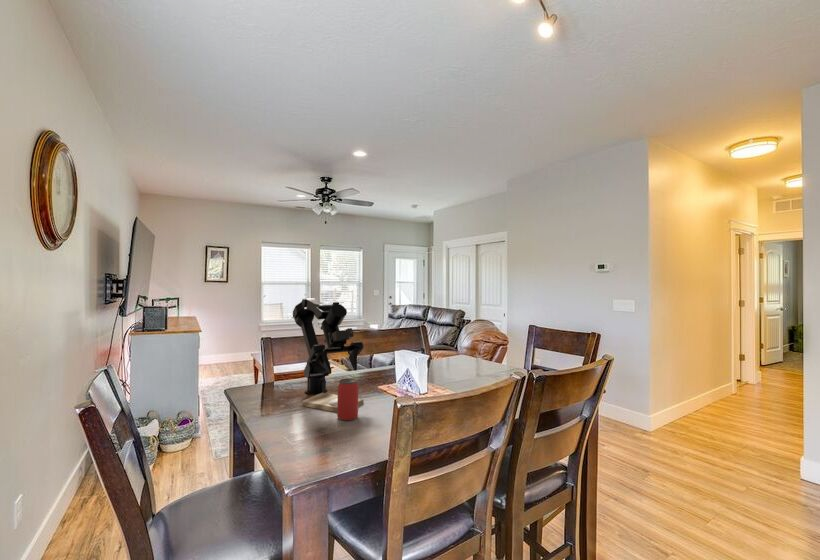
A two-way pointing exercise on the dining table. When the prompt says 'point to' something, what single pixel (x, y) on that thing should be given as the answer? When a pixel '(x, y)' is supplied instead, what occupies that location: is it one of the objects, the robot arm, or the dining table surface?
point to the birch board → (325, 402)
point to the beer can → (347, 399)
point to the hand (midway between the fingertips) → (343, 371)
